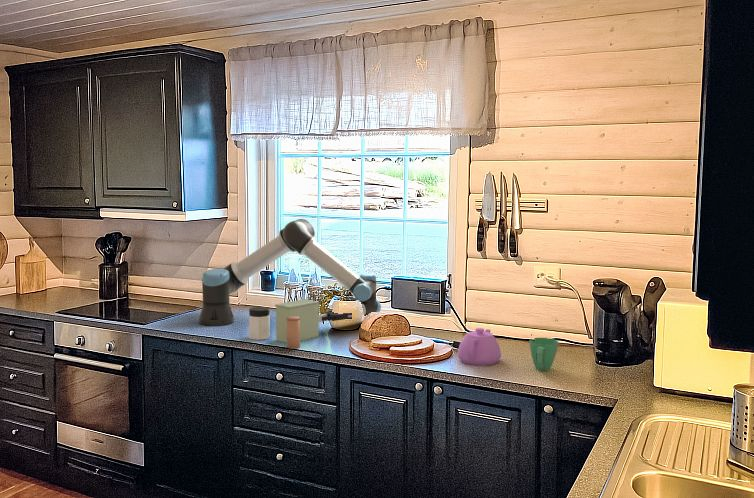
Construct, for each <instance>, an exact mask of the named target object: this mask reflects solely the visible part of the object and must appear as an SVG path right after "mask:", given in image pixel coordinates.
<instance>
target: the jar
mask: <svg viewBox="0 0 754 498" xmlns="http://www.w3.org/2000/svg"><path fill="white" fill-rule="evenodd" d="M248 311H249V312H248V315H249V316H248V327H249V328H248V329H249V330H248V334H249V336H248V337H249V340H255V341H261V340H269V339H270V335H271V333H270V332H271V328H270V320H271V319H270V318H271V317H270V308H269V307H267V306H254V307H253V306H252V307H250V308H249V309H248Z"/></svg>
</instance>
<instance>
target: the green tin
mask: <svg viewBox="0 0 754 498" xmlns="http://www.w3.org/2000/svg"><path fill="white" fill-rule="evenodd" d="M319 307H320V301H319V300H317V301H316V300H311V299H307V298H306V299H305V298H304V299H298V300H293V301H288V302H282V303H276V304H275V309H276V310H275V314H276V315H275V323H276V324H275V326H276V327H275V336H276V337H275V339H276V341H278V340H279V342H282V341H283V343H286V342H287V317H290V316H297V317H300V342H302V341H305V340H309V339H314V338H317V337H319V336H320V333H319V332H320V331H319V329H320V327H319V324H320V322H319V315H320V314H319V310H320V308H319Z"/></svg>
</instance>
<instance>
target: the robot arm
mask: <svg viewBox="0 0 754 498" xmlns="http://www.w3.org/2000/svg"><path fill="white" fill-rule="evenodd" d="M315 235H316V229H315V227H314V224H313V223H312V222H311V221H309V220H308V219H306V218H305V219H304V218H299V219H296V220H291V221H290V222H288V223H287V224H286V225H284V227H283V228H282V229H280V230H279V231H278V235H277V236H276V237H275V238H273V239H271V240H270V241H268V242H267V243H266V244H264V245H262V246H261V247H259V248H258V249H256V250H255V251H253V252H252V253H251V254H249V255H248V256H246V257H245V258H243V259H241V260H239V262H235V261H232V262H231V263H229V264H228V265H226V266H224V267H223V268H212V269H207V270H206V271H204V272H203V273H202V278H201V279H202V280H201V282H202V285H201V286H202V307H201V311H200V315H199V317H198V323H199V324H200V325H203V326H213V327H214V326H217V327H218V326H227V325H231V324H233V323H234V319H235V318H234V314H233V311H232V308H231V305H230V294H233V293H234V292H237V291H238V290H239V289H240V288H241V287H243V286H245V285H246V284H248V280H249V278H251V277H253V276H254V275H256V274H257V273H258V272H260V271H262V270H263V269H264V268H266V267H268V266H270V265H271V264H273V262H275V261H277V260H279V258H281V257H283V256H285V255H286V254H287V253H289V252H292V253H295V252H296V253H297V254H299V255H301V256H303V255H304V256H306V258H308V259H309V260H310V261H311V262H313V263H314V264H315V265H317V267H319V268H320V269H321V270H323V271H324V272H325V273H326V274H328V275H329V276H330V277H331V278H333V279H334V280H335V281H336V282H338V283H339V284H340V285H341V286H343V287H344V288H345V289H346V290H348V291H349V292H350V293H351V294H353V297H354V298H355V300H356V301H357V302H361V304H362V308H363V312H364V316H366V315H368V314H369V313H371V312H379V313H380V312H381V308H382V306H381V303H380V300H378V299H377V275H376V274H374V273H361V274H360V275H358V274H357V273H355V272H354V271H353V270H351V269H350V268H349V267H348V266H346V264H344V263H343V262H342V261H340V260H339V259H338V258H336V257H335V256H334V255H333V254H332V253H330V252H329V251H328V250H327V249H326V248H324V247H323V245H321V244H319V243H318V242H317V241H316V238H315V237H316V236H315ZM332 309H333V308H331V309H329V310H326V311H324V312H321V314H319V323H322V322H328V321H331V322H335V321H336V322H337V321H342V320H343V321H344V320H345V319H352V313H343V314H338V313H334V312H332Z"/></svg>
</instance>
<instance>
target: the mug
mask: <svg viewBox="0 0 754 498" xmlns="http://www.w3.org/2000/svg"><path fill="white" fill-rule="evenodd" d="M558 347H559V341H558V340H557V339H554V338H549V337H534V339H533V338H530V339H529V350H530V353H531V359H532V362H533V365H534V368H535V370H537V369H539V370H538V371H540V370H548V371H550V370H551V368H552V366H553V363H554V360H555V358H556V355H557V352H558ZM549 369H550V370H549Z"/></svg>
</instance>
